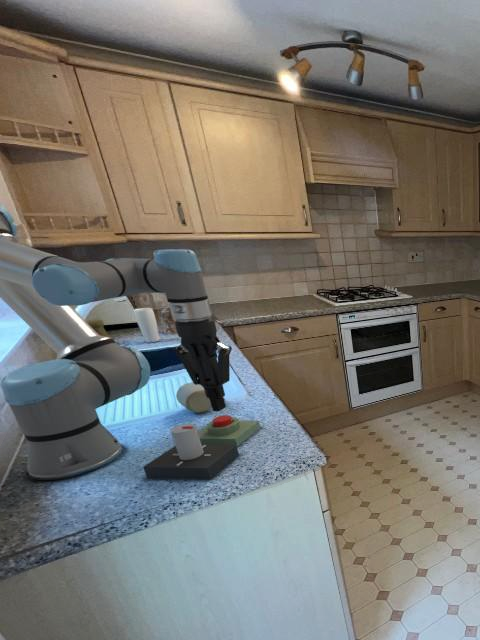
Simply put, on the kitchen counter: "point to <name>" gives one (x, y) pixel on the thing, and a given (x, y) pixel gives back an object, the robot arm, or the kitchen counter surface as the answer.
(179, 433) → the timer dial
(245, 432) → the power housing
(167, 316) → the figurine
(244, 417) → the kitchen counter surface
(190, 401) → the ceramic mug
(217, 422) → the power button
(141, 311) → the drinking glass
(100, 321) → the pepper shaker
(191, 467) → the panel
